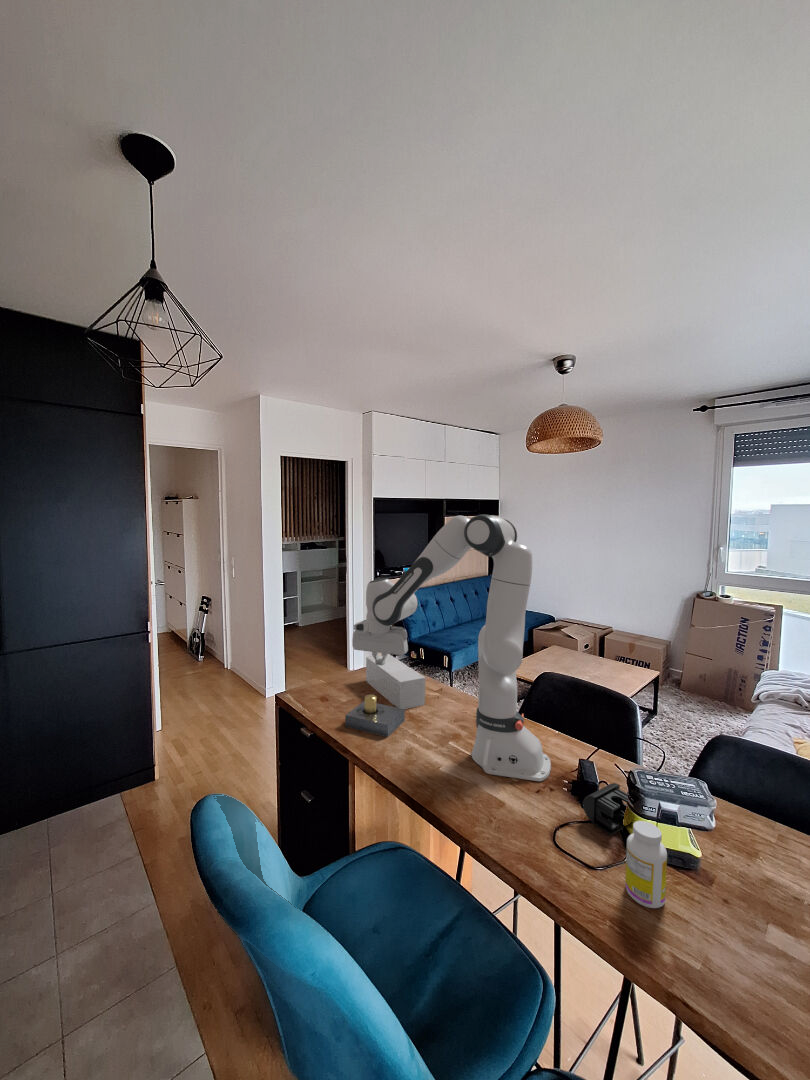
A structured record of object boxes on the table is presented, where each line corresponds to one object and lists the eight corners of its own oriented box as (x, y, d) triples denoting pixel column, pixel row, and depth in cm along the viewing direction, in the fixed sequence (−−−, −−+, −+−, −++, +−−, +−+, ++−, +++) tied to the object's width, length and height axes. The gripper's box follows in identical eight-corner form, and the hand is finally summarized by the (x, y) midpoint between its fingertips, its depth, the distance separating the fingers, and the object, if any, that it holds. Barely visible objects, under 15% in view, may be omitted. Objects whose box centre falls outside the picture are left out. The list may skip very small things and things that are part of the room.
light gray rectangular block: (424, 705, 165) (425, 677, 164) (399, 710, 160) (400, 681, 159) (388, 677, 193) (388, 653, 193) (365, 681, 188) (366, 656, 188)
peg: (378, 718, 150) (378, 696, 150) (372, 723, 147) (372, 700, 146) (368, 716, 152) (368, 693, 152) (362, 720, 149) (362, 697, 148)
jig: (404, 720, 152) (404, 709, 151) (387, 737, 140) (388, 725, 140) (364, 711, 158) (364, 700, 158) (345, 726, 146) (345, 715, 146)
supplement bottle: (651, 880, 86) (654, 816, 85) (673, 910, 79) (676, 841, 78) (618, 880, 85) (620, 817, 85) (637, 910, 79) (640, 842, 78)
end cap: (606, 804, 109) (608, 778, 108) (634, 821, 103) (636, 793, 102) (581, 818, 103) (582, 790, 103) (609, 837, 97) (610, 807, 97)
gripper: (410, 625, 150) (411, 665, 150) (358, 621, 158) (359, 658, 159) (402, 629, 144) (403, 671, 145) (349, 624, 152) (350, 664, 153)
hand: (380, 664), depth 152 cm, fingers closed
